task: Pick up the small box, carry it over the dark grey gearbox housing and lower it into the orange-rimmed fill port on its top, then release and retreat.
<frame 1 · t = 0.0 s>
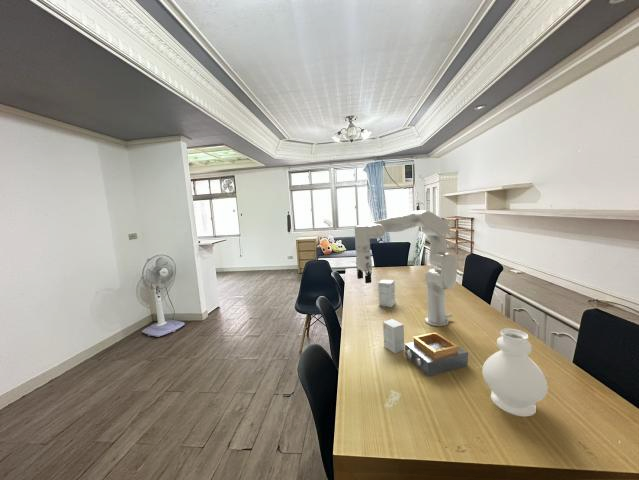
hand: (364, 280, 140), 31 cm above the table, fingers open, 9 cm apart
gearbox housing: (435, 360, 118), on the table
small box: (394, 348, 131), on the table
decorative vase: (512, 402, 91), on the table
supplement box: (387, 304, 188), on the table
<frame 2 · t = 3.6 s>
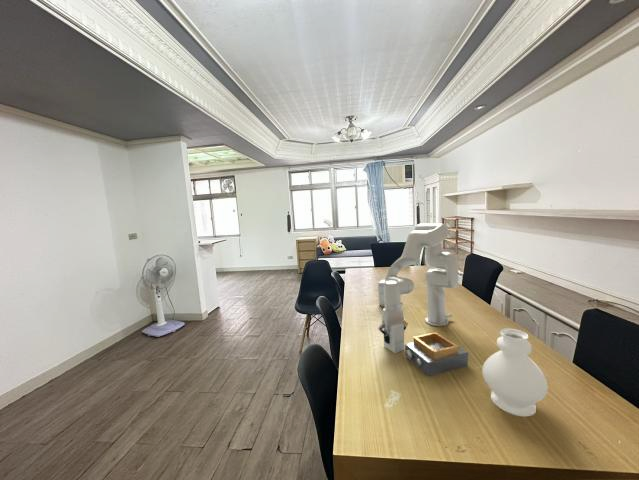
hand: (393, 340, 130), 4 cm above the table, fingers closed on small box, 7 cm apart
small box: (394, 348, 130), on the table, touching gripper
everything else where it was.
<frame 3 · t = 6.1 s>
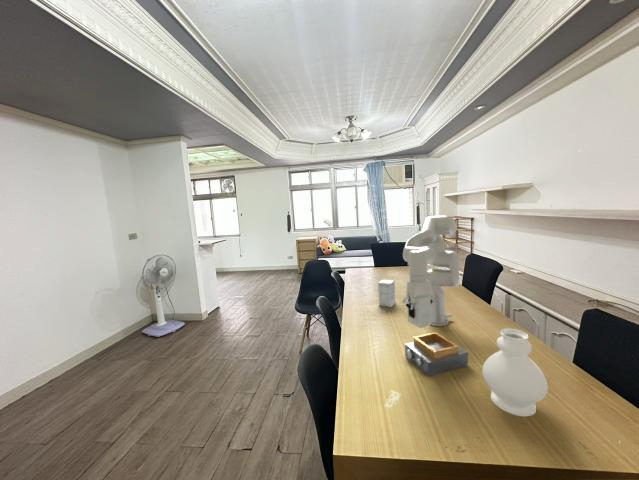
hand: (419, 315, 120), 20 cm above the table, fingers closed on small box, 7 cm apart
small box: (419, 323, 121), point 16 cm above the table, touching gripper
everything else where it was.
when the fingers open (11 cm above the table, at t = 9.0 s): small box drops 1 cm, resting on gearbox housing.
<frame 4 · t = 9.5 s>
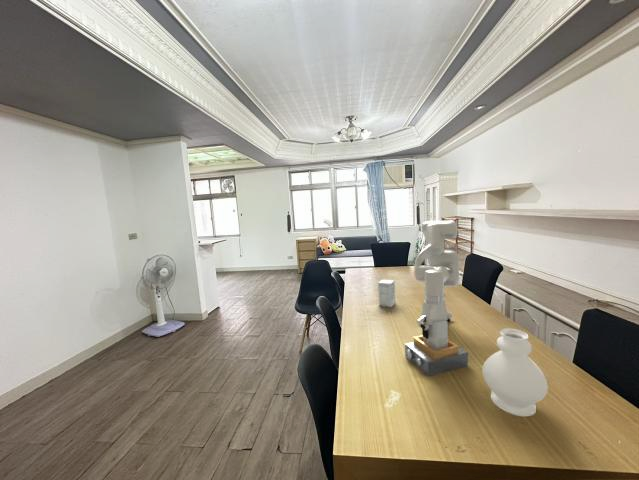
hand: (434, 335, 117), 12 cm above the table, fingers open, 9 cm apart
small box: (435, 348, 118), point 6 cm above the table, touching gearbox housing
everything else where it was.
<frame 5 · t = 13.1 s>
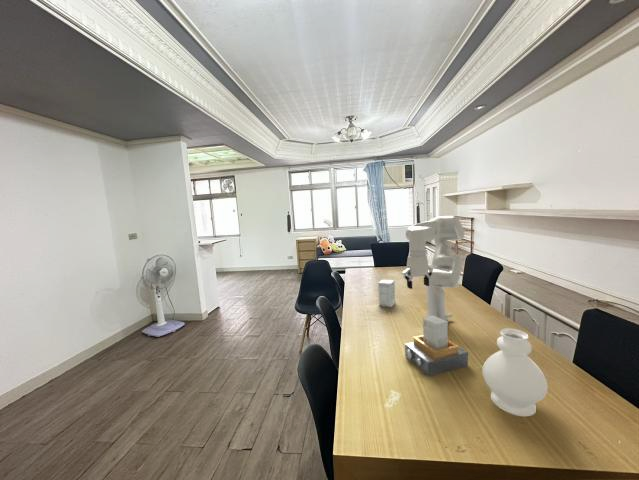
hand: (418, 286, 133), 28 cm above the table, fingers open, 9 cm apart
nothing on the table moved.
at the end: small box inside the target area on the gearbox housing (0.3 cm from its centre), point 5.8 cm above the gearbox housing's base; small box tilted 0°; the gripper is holding nothing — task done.
